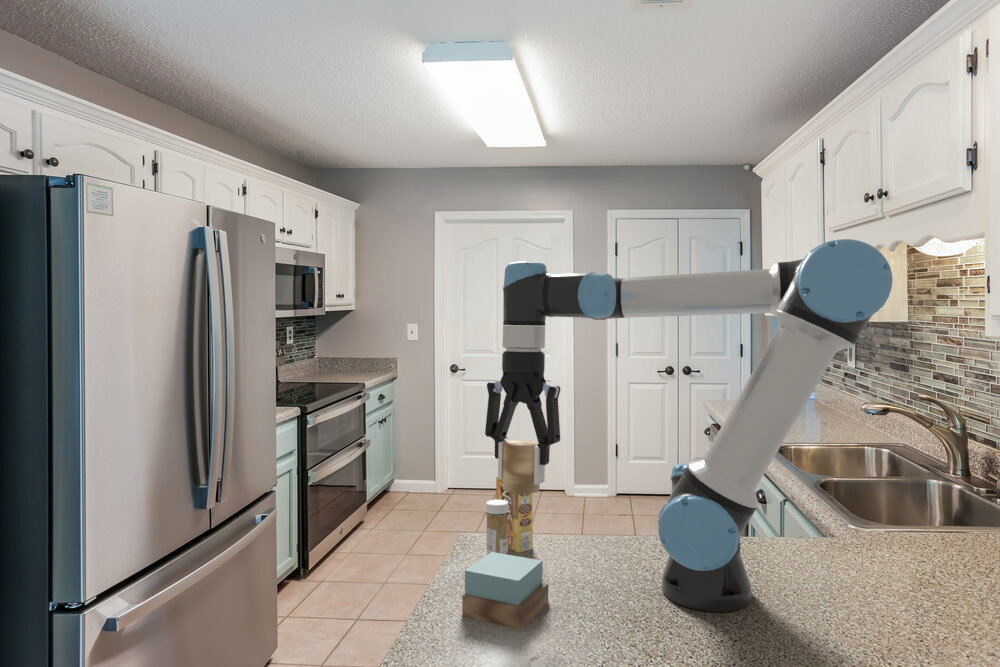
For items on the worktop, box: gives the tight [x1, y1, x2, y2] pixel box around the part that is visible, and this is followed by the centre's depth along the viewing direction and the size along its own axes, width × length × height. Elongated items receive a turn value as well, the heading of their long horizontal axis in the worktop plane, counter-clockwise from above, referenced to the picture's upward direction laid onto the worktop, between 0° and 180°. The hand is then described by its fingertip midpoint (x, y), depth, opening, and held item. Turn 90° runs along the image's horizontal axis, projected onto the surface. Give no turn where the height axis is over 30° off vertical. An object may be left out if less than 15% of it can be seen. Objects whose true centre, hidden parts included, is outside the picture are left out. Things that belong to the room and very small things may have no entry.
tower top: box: [464, 552, 543, 606], centre depth 106 cm, size 10×10×4 cm
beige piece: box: [503, 440, 541, 494], centre depth 109 cm, size 6×6×8 cm
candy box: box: [495, 476, 534, 553], centre depth 136 cm, size 9×4×15 cm, turn 33°
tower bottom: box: [461, 581, 549, 631], centre depth 106 cm, size 11×11×4 cm
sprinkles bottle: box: [485, 499, 509, 556], centre depth 125 cm, size 5×5×14 cm
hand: (521, 479), depth 109 cm, fingers closed on beige piece, 6 cm apart
